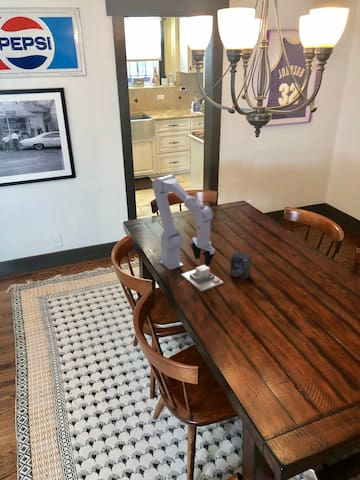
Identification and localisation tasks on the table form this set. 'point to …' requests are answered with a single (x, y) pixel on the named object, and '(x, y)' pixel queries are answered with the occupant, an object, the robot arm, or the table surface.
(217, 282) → the socket plate
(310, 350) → the table surface
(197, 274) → the plug
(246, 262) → the box
